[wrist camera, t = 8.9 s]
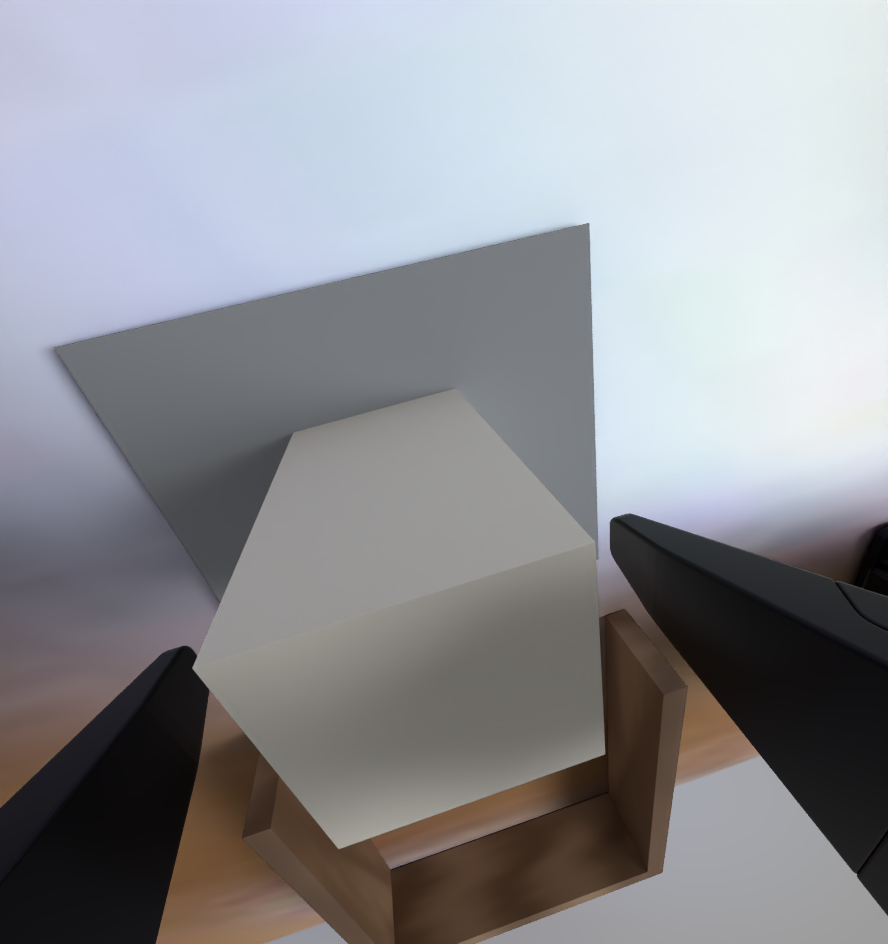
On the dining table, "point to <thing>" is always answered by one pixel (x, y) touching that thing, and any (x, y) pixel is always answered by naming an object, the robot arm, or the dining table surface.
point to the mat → (352, 379)
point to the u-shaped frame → (506, 852)
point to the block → (409, 621)
